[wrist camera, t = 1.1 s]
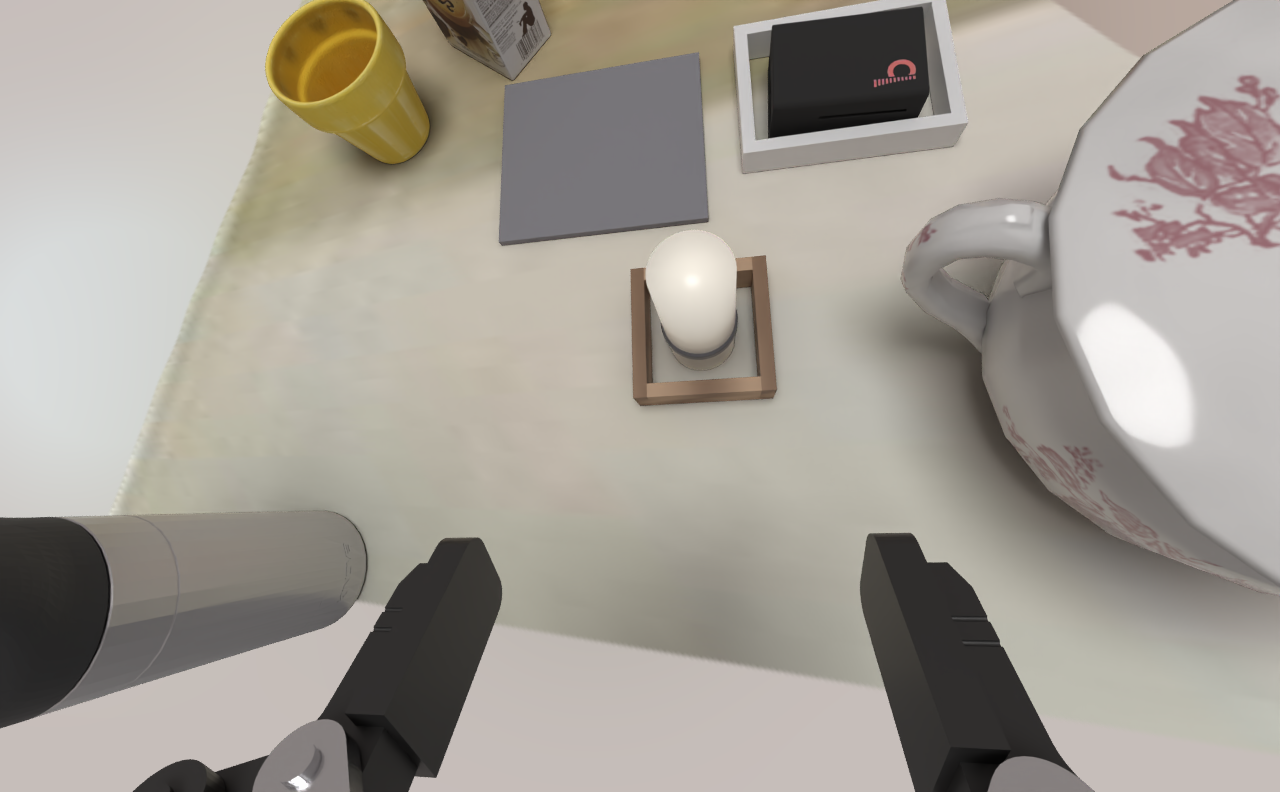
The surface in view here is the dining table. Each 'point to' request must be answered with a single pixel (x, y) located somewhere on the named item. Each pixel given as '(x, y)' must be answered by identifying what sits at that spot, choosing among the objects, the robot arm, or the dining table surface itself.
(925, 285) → the chamber pot
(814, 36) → the electronic device
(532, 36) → the coffee box
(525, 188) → the charcoal mat
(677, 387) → the walnut collar
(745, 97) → the grey organizer frame
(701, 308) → the white capsule dome
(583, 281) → the dining table surface
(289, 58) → the plant pot
